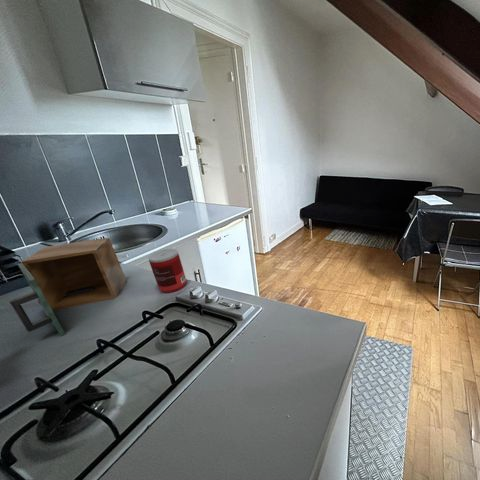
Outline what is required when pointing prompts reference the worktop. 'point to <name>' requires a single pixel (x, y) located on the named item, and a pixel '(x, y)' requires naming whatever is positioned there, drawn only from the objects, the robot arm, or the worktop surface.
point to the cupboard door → (42, 300)
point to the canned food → (167, 270)
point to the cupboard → (77, 272)
